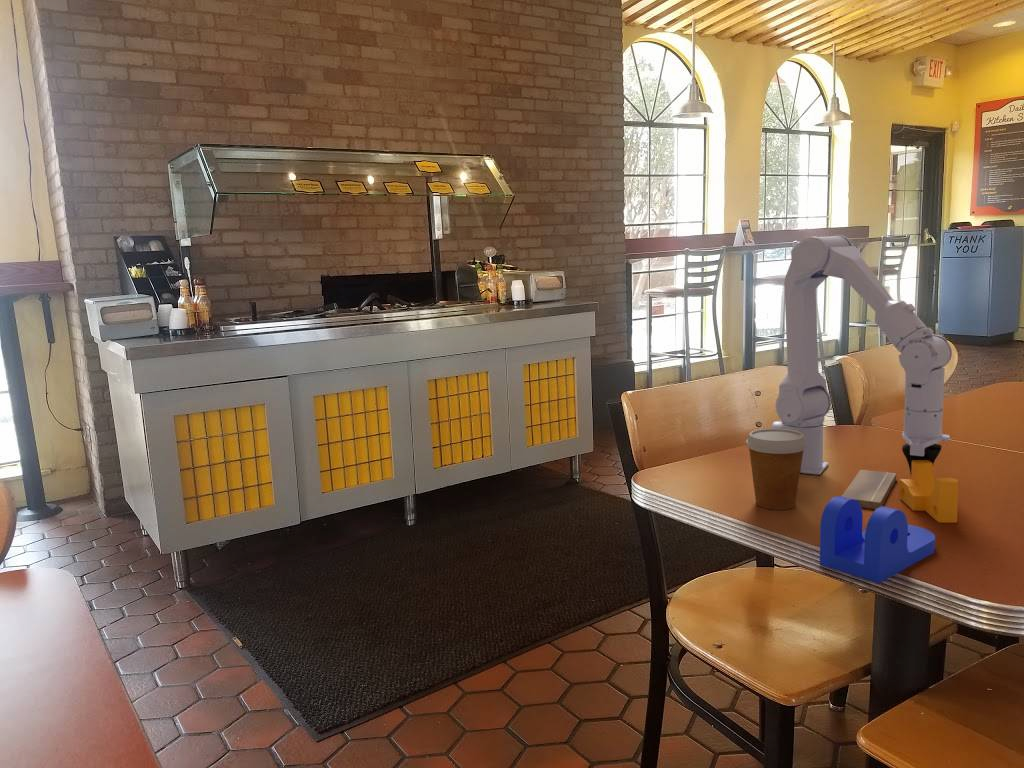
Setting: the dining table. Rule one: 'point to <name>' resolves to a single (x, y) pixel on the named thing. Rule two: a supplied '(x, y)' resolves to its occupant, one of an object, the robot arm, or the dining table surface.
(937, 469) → the dining table surface
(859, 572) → the bracket
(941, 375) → the robot arm
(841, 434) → the dining table surface
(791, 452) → the disposable coffee cup
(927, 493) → the pipe clamp
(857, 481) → the board
